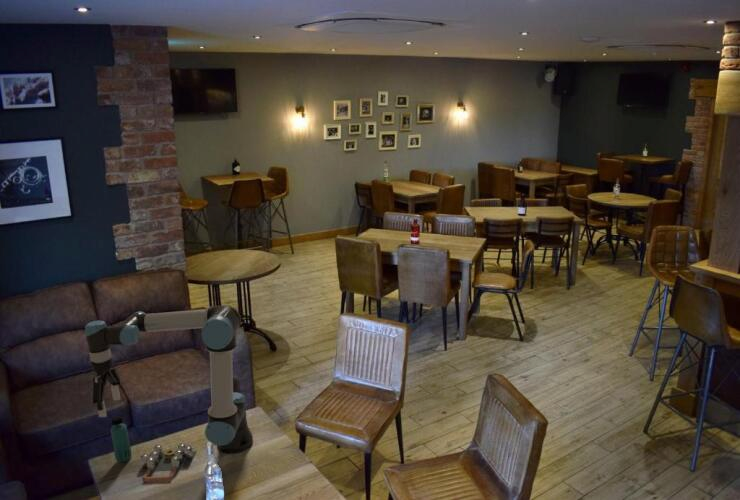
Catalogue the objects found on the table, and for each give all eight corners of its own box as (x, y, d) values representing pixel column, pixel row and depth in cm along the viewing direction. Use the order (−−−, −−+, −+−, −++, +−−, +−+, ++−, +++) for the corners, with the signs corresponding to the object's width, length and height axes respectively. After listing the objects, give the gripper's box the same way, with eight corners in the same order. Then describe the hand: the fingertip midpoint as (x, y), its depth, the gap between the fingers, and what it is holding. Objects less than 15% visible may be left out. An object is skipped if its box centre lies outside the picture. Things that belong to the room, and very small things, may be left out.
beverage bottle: (126, 466, 240) (119, 422, 235) (112, 464, 241) (104, 421, 236) (135, 457, 246) (128, 414, 241) (121, 455, 247) (114, 413, 243)
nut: (176, 453, 245) (175, 447, 245) (175, 459, 241) (174, 453, 240) (166, 455, 244) (165, 449, 244) (165, 461, 240) (164, 455, 239)
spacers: (195, 453, 245) (193, 442, 244) (186, 470, 233) (185, 459, 232) (149, 455, 245) (147, 445, 244) (138, 472, 233) (137, 461, 232)
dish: (176, 472, 233) (176, 467, 233) (171, 482, 227) (170, 476, 227) (149, 474, 233) (148, 468, 233) (143, 484, 227) (142, 478, 227)
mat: (197, 453, 246) (197, 451, 246) (188, 471, 234) (187, 469, 234) (150, 455, 246) (150, 453, 246) (138, 474, 234) (138, 472, 234)
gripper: (105, 347, 242) (113, 393, 246) (76, 373, 217) (86, 424, 222) (123, 346, 242) (131, 392, 247) (96, 372, 217) (106, 423, 222)
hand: (110, 408), depth 234 cm, fingers open, 13 cm apart
